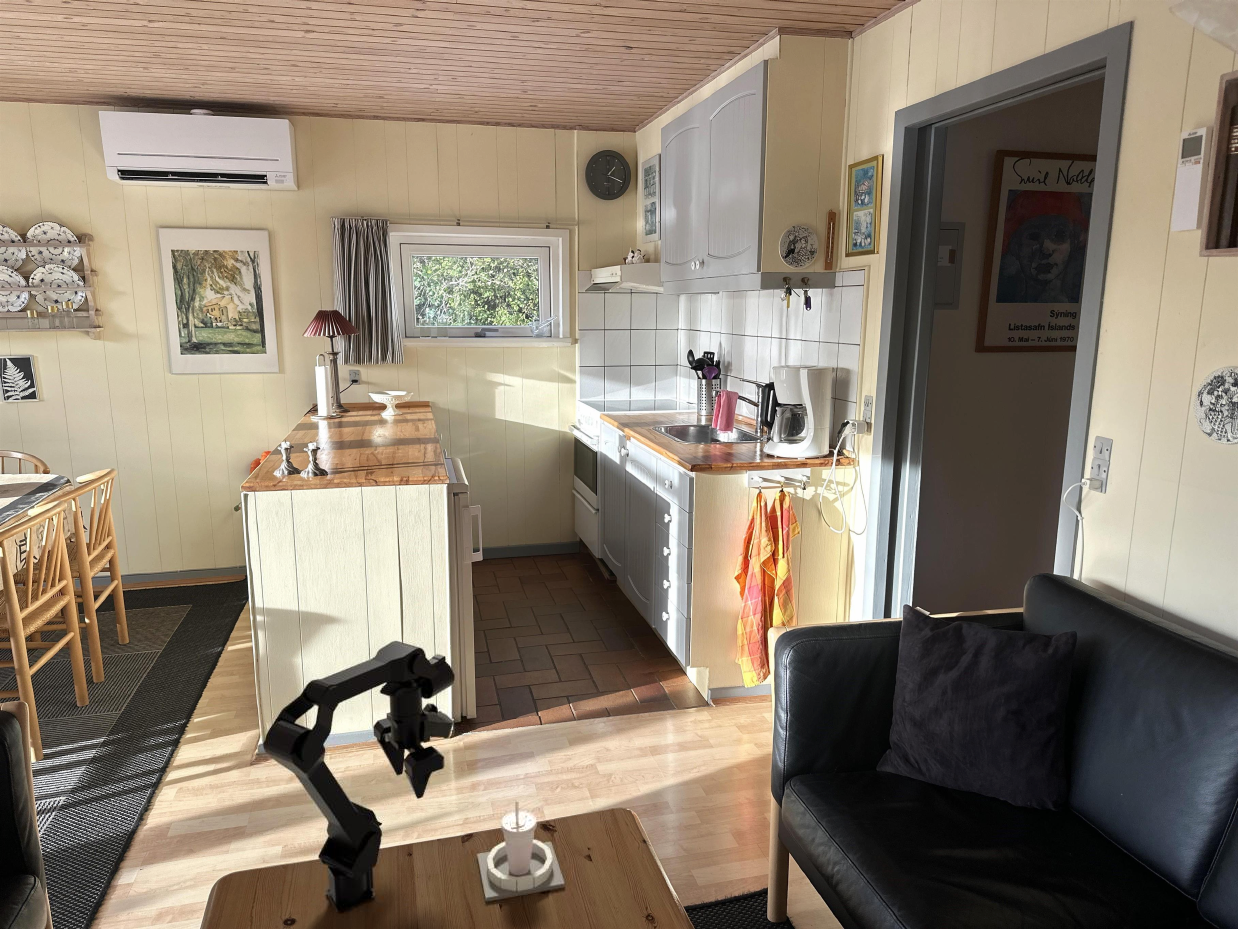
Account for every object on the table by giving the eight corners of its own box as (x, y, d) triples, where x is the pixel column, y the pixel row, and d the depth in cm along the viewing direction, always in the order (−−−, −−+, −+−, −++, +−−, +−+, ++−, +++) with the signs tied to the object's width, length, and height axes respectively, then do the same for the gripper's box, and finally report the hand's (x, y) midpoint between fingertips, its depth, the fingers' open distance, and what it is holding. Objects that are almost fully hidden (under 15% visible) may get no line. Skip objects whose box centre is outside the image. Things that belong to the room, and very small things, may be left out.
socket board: (485, 901, 149) (485, 887, 148) (477, 857, 160) (477, 844, 160) (564, 887, 153) (564, 873, 152) (551, 845, 164) (551, 832, 163)
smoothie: (494, 873, 155) (493, 803, 152) (514, 852, 160) (513, 785, 158) (524, 884, 152) (523, 814, 149) (543, 863, 158) (543, 795, 155)
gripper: (469, 717, 154) (471, 794, 158) (425, 678, 169) (428, 750, 172) (411, 736, 148) (415, 816, 151) (370, 694, 162) (374, 768, 165)
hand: (409, 785), depth 160 cm, fingers open, 9 cm apart
